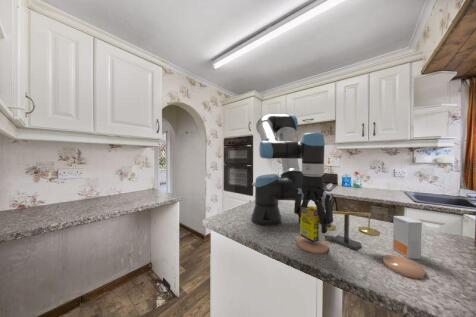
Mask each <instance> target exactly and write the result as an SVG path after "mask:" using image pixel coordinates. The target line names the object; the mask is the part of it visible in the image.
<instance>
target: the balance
mask: <svg viewBox="0 0 476 317" xmlns="http://www.w3.org/2000/svg"><path fill="white" fill-rule="evenodd" d="M332 212H333V215H344V218H343V219H344V223H343V224H344V226H343V232H344V233H343V236H342V235H338V234H337V235H336V236H334V237H333V238H331V241H332V242H334V243H337V244H339V245H342V246H344V247H345V248H346V247H347V248H349V249H352V250H354V251H357V250H358V249H359V248H361V246H362V243H361V242H360V241H356V240H353V239H351V238H350V216H362V217H364V216H365V217H368V220H367V221H368V226H359V227H358V231H359V232H360V233H361V234H364V235H367V236H371V237H379V236H380V235H381V232H380V231H379V230H378V229H376V228H373V227H370V226H371V224H370V223H371V222H370V221H371V216H372V213H370V212H353V211H337V210H335V211H334V210H332ZM336 230H337V226H336V225H334V224H332V223H330V224H327V231H336Z"/></svg>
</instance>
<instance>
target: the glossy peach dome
mask: <svg viewBox="0 0 476 317" xmlns="http://www.w3.org/2000/svg"><path fill="white" fill-rule="evenodd" d="M382 264H383V265H384V266H385V267H386V268H388V269H389V270H390V271H391V272H393V273H396V274H399V275H401V276H404V277H407V278H412V279H424V278H425V276H426V269H425V268H424V267H423V266H422V265H421V264H420V263H417V262H415V261H414V260H411V259H410V258H407V257H405V256H404V257H403V256H400V255H394V254H386V255H384V256H382Z"/></svg>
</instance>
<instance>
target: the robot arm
mask: <svg viewBox="0 0 476 317" xmlns="http://www.w3.org/2000/svg"><path fill="white" fill-rule="evenodd" d="M298 123H299V122H298V119H297V117H296V115H295V114H292V113H286V114H282V113H281V114H279V113H278V114H277V113H276V114H275V113H274V114H273V113H272V114H271V113H270V114H265V115H264V116H262V117H260V118H259V119H258V121H257V122H256V125H255V128H256V131H257V133H258V134H259V136H260V140H261V141H259V149H258V151H259V157H260V158H262V159H267V160H268V159H269V160H270V159H281V165H282V166H281V167H282V172H281V173H280V176H279V174H278V173H277V174H276V173H273V174H272V173H271V174H270V173H269V174H263V175H258V176H257V177H256V178H255V183H254V184H255V185H254V187H255V188H254V189H255V192H254V193H255V194H254V195H255V196H254V199H255V200H254V208H253V211H252V214H251V221H252V222H253V224H255V225H259V226H261V227H275V226H278V225H281V224H282V222H283V219H282V215H281V211H280V207H279V201H294V208H293V213H294V214H295V215H297V217H298V224H299V229H300V231H299V234H300V235H301V207H309V206H308V205H309V203H310V201H311V202H314V205H315V207H317V211H318V214H319V217H320V221H321V223H319V242H320V243H321V242H323V241H324V240H325V241H326V238H325V234H327V232H328V230H327V224H330V223H331V224H332V223H334V214H333V212H332V211H333V204H332V200H333V196H334V194H332V193H327V192H325V191H326V190H324V187H325V177H324V174H325V145H326V144H325V143H326V142H325V134H324V133H323V132H305V133H303V134H302V136H301V140H295V137H294V136H295V134H296V133H297V132H298V128H299V125H298ZM300 159H301V170H300V165H299V160H300ZM322 197H323V199H324V205H323V199H322Z"/></svg>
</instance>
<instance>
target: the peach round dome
mask: <svg viewBox="0 0 476 317" xmlns="http://www.w3.org/2000/svg"><path fill="white" fill-rule="evenodd" d="M295 244H296V246H297V247H298V248H299V249H301V250H302V251H304V252H307V253H311V254H318V255H319V254H326V253H327V252H328V251H329V246H330V245H329V243H328V242H327V241H326V239H325V240H324V241H323V242H321V243H320V242H319V241H316V242H311V241H309V240H308V239H306V238H304V237H302V236H301V235H299V236H297V237H296V240H295Z"/></svg>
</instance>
